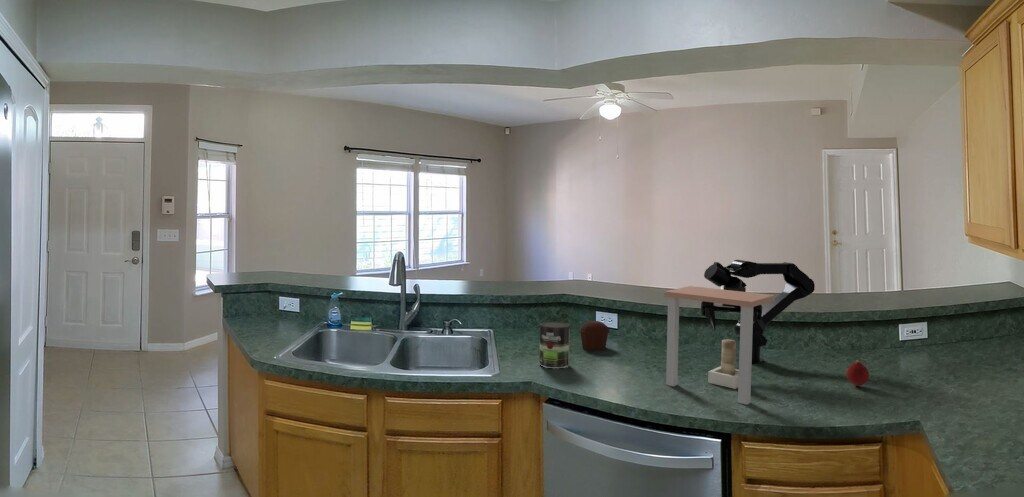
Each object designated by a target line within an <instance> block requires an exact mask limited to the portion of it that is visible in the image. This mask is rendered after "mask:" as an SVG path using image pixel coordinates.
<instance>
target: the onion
mask: <svg viewBox="0 0 1024 497" xmlns="http://www.w3.org/2000/svg"><path fill="white" fill-rule="evenodd" d="M854 361H855V363H854V362H853V363H852V364H850V365H849V367H848V368H847V369H846V377H847V380H848V381H849V382H850V383H852V384H853V386H855V385H856V386H859V387H860V386H863V385H865V384H866V383H867V382H868V381H869V380H870V373H869V370H868V368H867V367H866V366H865V365H864V364H862V362H860V360H857V359H856V360H854ZM856 386H855V387H856Z"/></svg>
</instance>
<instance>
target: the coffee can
mask: <svg viewBox="0 0 1024 497" xmlns="http://www.w3.org/2000/svg"><path fill="white" fill-rule="evenodd" d="M570 327H571V325H570V323H568V322H564V321H543V322H540V323H539V363H540V365H541V366H543V367H548V368H564V369H566V368H565V367H567V368H569V367H570V331H571V330H570ZM540 365H539V366H540ZM541 366H540V367H541ZM568 366H569V367H568ZM543 367H542V368H543Z"/></svg>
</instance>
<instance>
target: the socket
mask: <svg viewBox="0 0 1024 497" xmlns="http://www.w3.org/2000/svg"><path fill="white" fill-rule="evenodd" d="M707 373H708V376H707V378H708V379H707V383H708V384H712V385H717V386H722V387H725V388H729V389H734V390H736V389H738V384H739V368H738V369H737V368H735V375H734V376H733V375H728V374H723V373H721V365H720V366H718V367H715V368H713V369H711V370H709V371H708V372H707Z"/></svg>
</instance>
